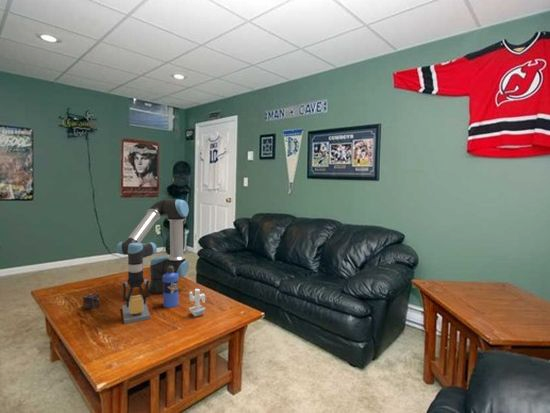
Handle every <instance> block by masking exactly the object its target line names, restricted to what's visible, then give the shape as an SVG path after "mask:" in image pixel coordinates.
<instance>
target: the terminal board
mask: <svg viewBox="0 0 550 413" xmlns="http://www.w3.org/2000/svg"><path fill="white" fill-rule="evenodd" d="M121 309H122V310H121V311H122V318H123V323H124V324H123V325H125V324H130V323H136V322H141V321H146V320H150V319H151V315H150V312H149V309H148V305H147V303H146V304H144V311H143V312H141V313H135V314H131V313H129V307H127V306H126V304H125V305H124V304H123V305H121Z"/></svg>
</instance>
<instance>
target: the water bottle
mask: <svg viewBox="0 0 550 413" xmlns="http://www.w3.org/2000/svg"><path fill="white" fill-rule="evenodd" d="M167 268H168V269H167V273H166V274H164V275H163V285H164V289H163V293H162V303H163V304H162V306H163V307H164V308H165V309H166V308H168V309H172V308H175V307H176V308H177V307H178V306H179V287H178V284H179V277H178V274H177V273H174V269H173V268H174V267H173V266H172V265H170V266H168V267H167Z"/></svg>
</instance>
